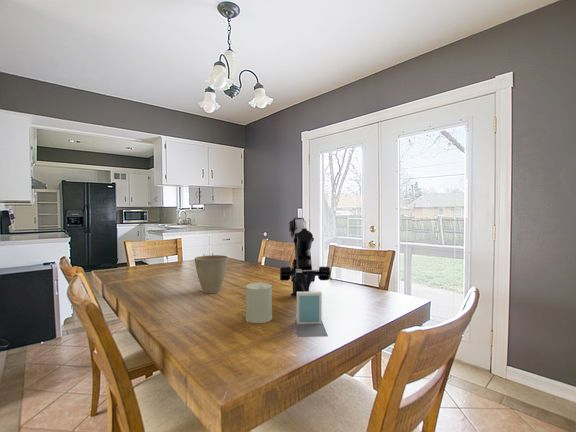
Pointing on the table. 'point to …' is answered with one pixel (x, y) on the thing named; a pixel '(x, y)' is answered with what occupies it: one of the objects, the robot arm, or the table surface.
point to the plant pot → (211, 272)
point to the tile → (309, 307)
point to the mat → (310, 330)
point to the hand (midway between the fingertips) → (306, 293)
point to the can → (258, 302)
